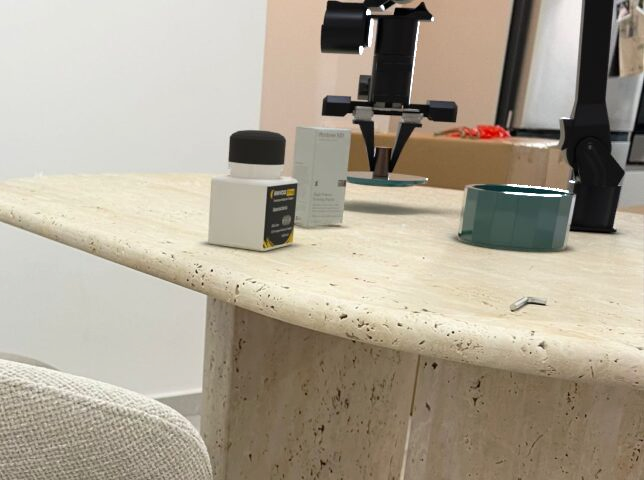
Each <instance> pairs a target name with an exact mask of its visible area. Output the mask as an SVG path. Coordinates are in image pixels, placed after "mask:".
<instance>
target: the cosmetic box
mask: <svg viewBox="0 0 644 480" xmlns="http://www.w3.org/2000/svg"><path fill="white" fill-rule="evenodd" d="M351 141H352V129H350V128H339V127H327V126H308V125H307V126H305V125H304V126H302V125H297V126H296V127H295V136H294V146H293V159H292V171H291V178H292V179H296V180H297V182H298V186H297V197H296V209H295V221H294V226H296V227H300V228H307V229H308V228H335V227H336V228H337V227H339V228H340V227H341V225H339V224H343V220H344V210H345V209H344V208H345V199H346V191H347V182H346V181H347V172H348V170H349V159H350V158H349V157H350V149H351Z"/></svg>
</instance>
